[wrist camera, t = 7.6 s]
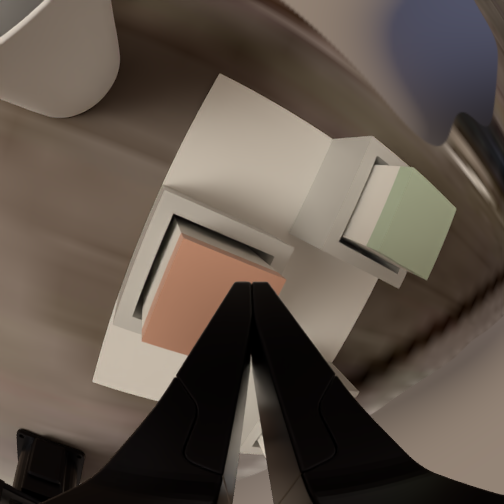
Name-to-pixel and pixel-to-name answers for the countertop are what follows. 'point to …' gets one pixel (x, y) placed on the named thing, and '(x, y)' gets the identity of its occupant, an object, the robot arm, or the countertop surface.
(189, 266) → the key terracotta
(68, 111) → the mug
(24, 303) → the countertop surface
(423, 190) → the key sage
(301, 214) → the keypad
